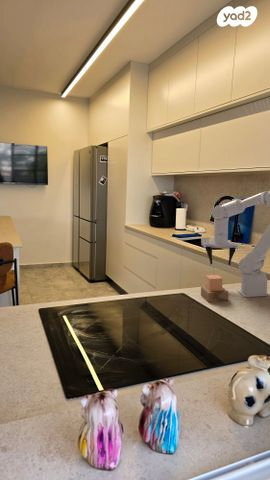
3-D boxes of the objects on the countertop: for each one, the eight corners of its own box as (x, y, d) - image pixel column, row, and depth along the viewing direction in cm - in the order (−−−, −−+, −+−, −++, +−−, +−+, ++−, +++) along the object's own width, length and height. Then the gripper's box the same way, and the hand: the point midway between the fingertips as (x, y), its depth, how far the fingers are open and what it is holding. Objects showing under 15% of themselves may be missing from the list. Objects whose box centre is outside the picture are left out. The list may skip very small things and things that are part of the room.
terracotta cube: (218, 286, 133) (218, 274, 132) (222, 290, 128) (222, 278, 127) (206, 287, 132) (206, 275, 132) (209, 291, 128) (209, 278, 127)
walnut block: (219, 294, 135) (219, 285, 135) (227, 301, 127) (228, 291, 127) (200, 296, 134) (200, 286, 133) (208, 302, 126) (208, 293, 126)
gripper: (202, 234, 139) (202, 265, 142) (238, 235, 135) (237, 267, 137) (204, 232, 146) (204, 261, 148) (238, 232, 142) (237, 263, 144)
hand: (220, 264), depth 143 cm, fingers open, 7 cm apart
